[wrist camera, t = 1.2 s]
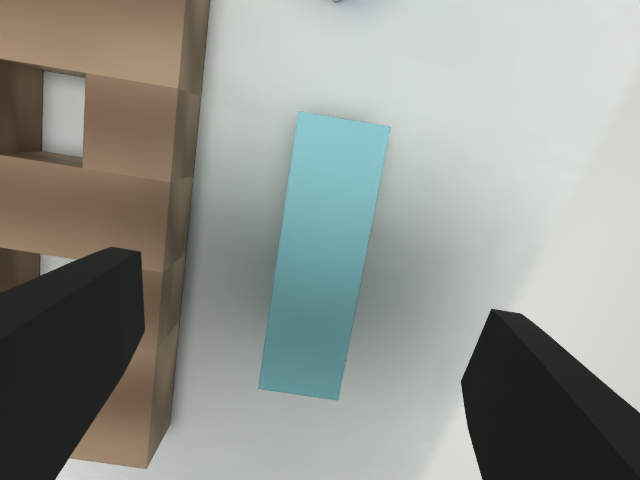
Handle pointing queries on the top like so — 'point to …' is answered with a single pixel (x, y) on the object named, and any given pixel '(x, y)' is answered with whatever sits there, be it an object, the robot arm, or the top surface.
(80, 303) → the robot arm
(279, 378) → the teal bridge block
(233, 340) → the top surface
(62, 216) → the brown wooden board
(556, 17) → the top surface
